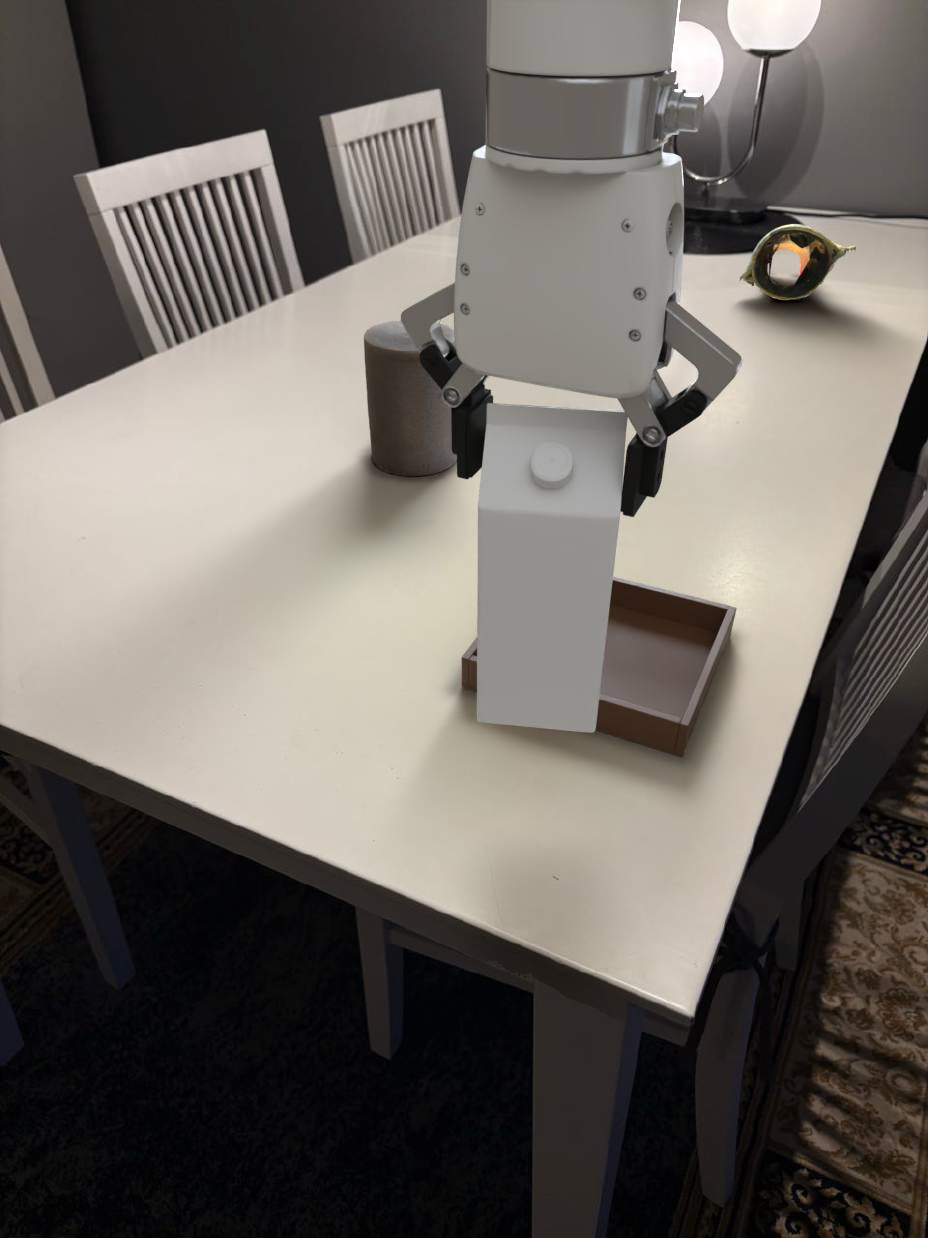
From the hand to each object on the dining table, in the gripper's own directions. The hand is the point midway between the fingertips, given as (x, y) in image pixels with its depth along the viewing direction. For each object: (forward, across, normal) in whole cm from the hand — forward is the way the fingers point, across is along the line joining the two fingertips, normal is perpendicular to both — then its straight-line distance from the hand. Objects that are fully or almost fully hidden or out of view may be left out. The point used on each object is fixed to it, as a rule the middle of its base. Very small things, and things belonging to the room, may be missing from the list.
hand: (552, 484), depth 48 cm
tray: (+23, 0, -14) cm, 27 cm away
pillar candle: (+23, +30, -39) cm, 54 cm away
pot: (+23, +3, -115) cm, 117 cm away
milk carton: (+15, 0, 0) cm, 15 cm away
